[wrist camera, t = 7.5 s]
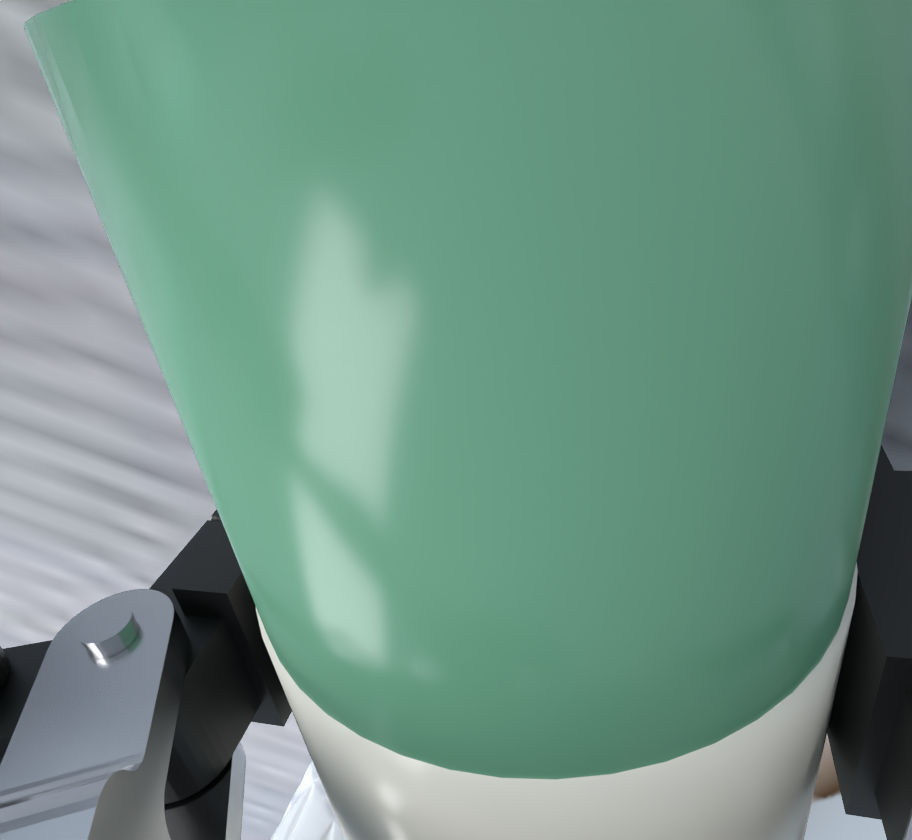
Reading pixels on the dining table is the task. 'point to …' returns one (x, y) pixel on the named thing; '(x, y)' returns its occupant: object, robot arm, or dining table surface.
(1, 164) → the dining table surface
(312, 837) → the white cup
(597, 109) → the green bottle
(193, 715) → the robot arm
